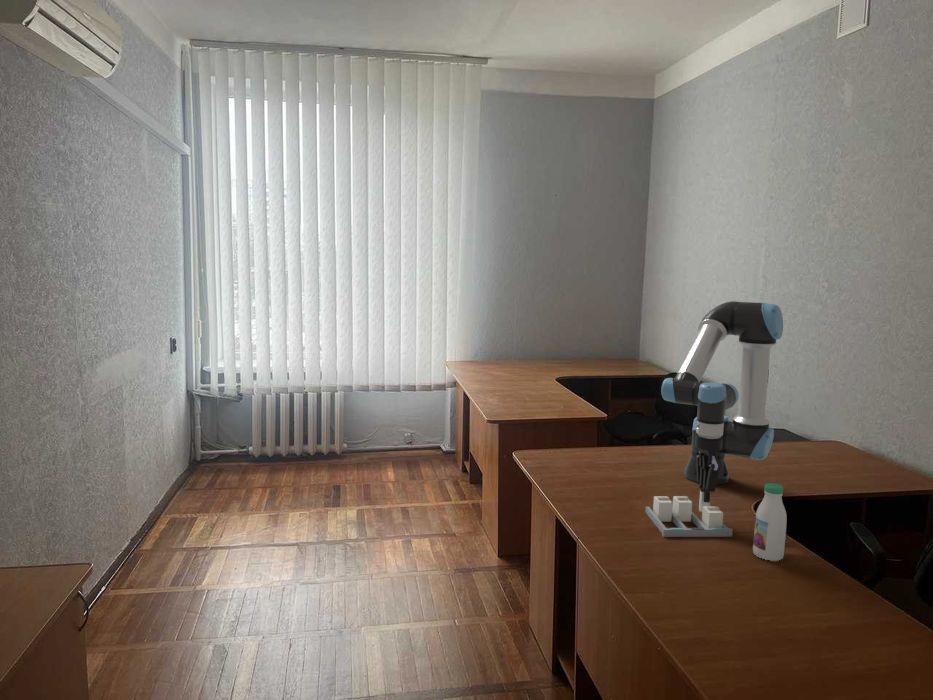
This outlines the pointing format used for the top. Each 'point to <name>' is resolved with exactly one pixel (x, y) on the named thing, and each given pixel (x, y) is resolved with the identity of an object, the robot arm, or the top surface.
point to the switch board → (688, 532)
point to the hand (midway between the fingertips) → (704, 510)
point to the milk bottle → (770, 525)
